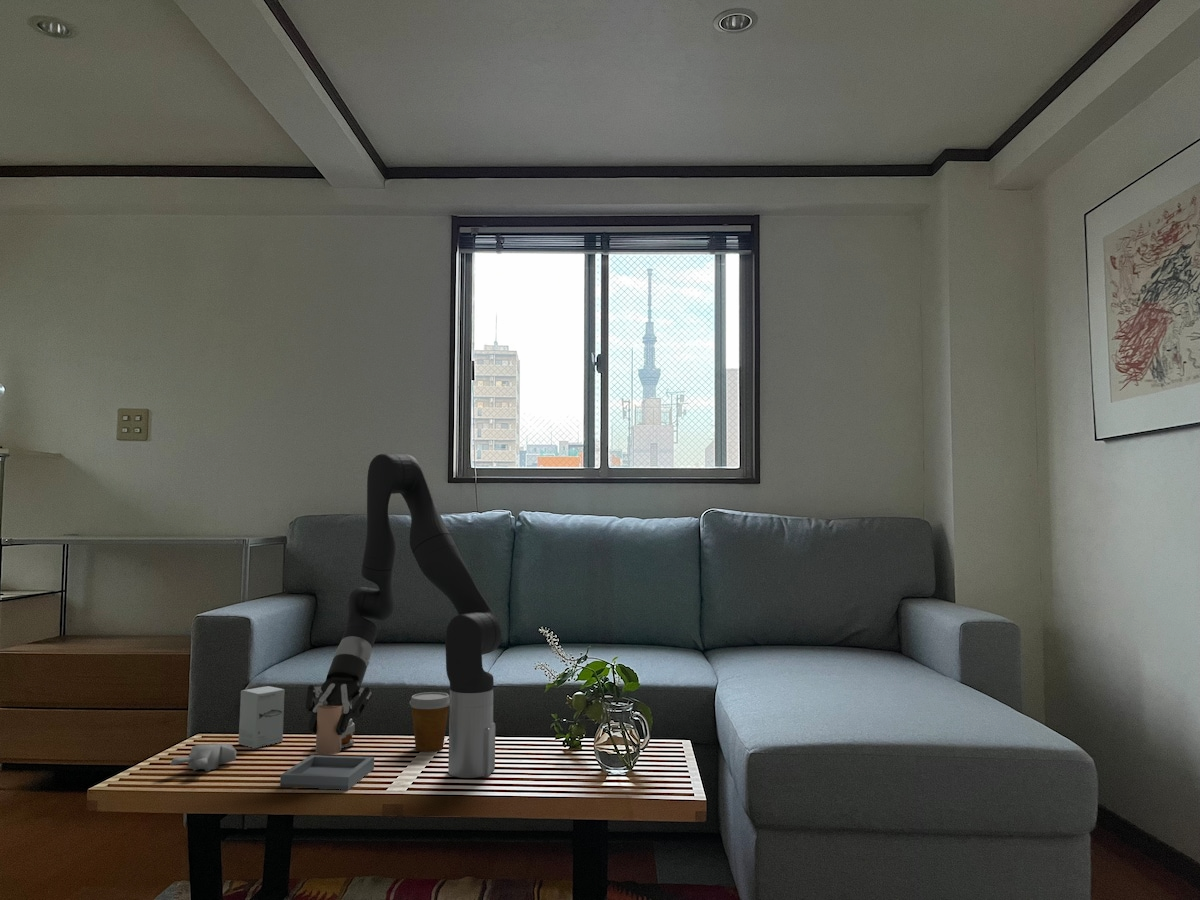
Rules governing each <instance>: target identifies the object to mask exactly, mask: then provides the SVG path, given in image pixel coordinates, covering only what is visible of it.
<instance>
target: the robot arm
mask: <svg viewBox="0 0 1200 900" xmlns="http://www.w3.org/2000/svg"><path fill="white" fill-rule="evenodd" d="M366 477H367V479H366V480H367V483H366V488H367V489H366V519H367V520H366V540H365V547H364V552H363V557H362V558H363V559H362V565H361V571H360V573H361V576H362V577H363V578H364V579H365V580H367V581H368V582H371V583H374V584H375V585H377V586H378V588H379V589H378V588H373V587H372V588H371V587H367V586H358V587H355V588H354V589H352V591H351V592H350V594H349V597H348V602H347V605H348V607H347V615H348V616H347V623H346V627H345V630H344V631H343V635H342V638H341V640H340V643H339V644H338V646H337V648H336V651H335V653H334V656H333V658H332V661H331V663H330V667H329V669H328V671H327V675H326V679H325V681H324V682H323V683H322V685H321V686H314V685H313V684H310V685H308V687H307V692H306V703H305V710H306V711H307V714H308V716H311V717H310V719H309V723H308V726H307V727H308V729H309V731H310V734H311V735H316V732H317V707H318V706H319V705H323V704H341V705H343V714H341V716H340V719H339V722H338V725H337V728H336V732H337V734H338V735H342V733H344V732H345V731H346V729H347V726H348V723H349V720H350V719H351V718H352V719H353V718H357V719H358V718H360V717H362V716H361V715H362V714H363V712H364V710H365V709H366V708H367V706H368V704H369V702H370V701H371V699H372V697H373V694H372V692H371V689H370V687H368V686H366V687H362V686H361V685H362V683H363V680H364V677H365V675H366V672H367V669H368V666H369V665H370V659H371V655H372V649H373V647H374V644H375V641H376V639H377V635H378V627H377V625H376V624H375V623H374V622H373V621H371V620H374V621H380V622H384V621H388V619H390V618H391V616H393V613H394V609H395V597H394V596H395V595H394V589H393V569H394V564H395V559H396V552H397V548H396V547H397V544H396V543H397V542H396V537H395V534H394V530H393V528H392V524H391V521H390V517H389V504H390V503H389V502H390V499H391V496H392V494H394V495H395V494H400V495H401V496H402V498H403V499H404V501H405V504H406V505H407V508H408V510H409V512H410V519H411V520H410V529H409V546H410V550H411V553H412V555H413V557H414V559H415V561H416V563H417V565H418V567H419V569H420V570H421V572H422V574H423V575H424V576H425V578H426V579H428V581H430V583H432V584H433V586H435V587H436V588H437V589H438V590H439V591H440V592H441V593H442V594H443V595H444V596H446V598H447V599H448V600H449V601H450V602H451V603H452V605H453V607H454V609H455V610H456V612H457V615H455V616H454V617H453V618H451V619H450V621H449V622H448V623H447V627H446V631H445V641H444V642H445V643H444V644H445V670H446V676H447V679H448V682H449V698H450V705H449V708H448V717H449V719H448V761H447V763H448V772H447V773H448V774H449V775H450V776H451V777H455V778H461V779H463V778H464V779H473V778H481V777H482V778H483V777H489V776H490V775H491V774H492V772H493V771H494V769H495V768H496V765H495V764H496V723H495V722H494V683H495V682H494V675H493V674H492V673H491V672H488V671H485V670H484V667H483V655H485V654H489V653H492V652H494V651H496V650H497V649H498V648H499V646H500V644H501V641H502V629H501V625H500V621H499V620H498V618H497V616H496V614H495V613H494V612H493V609H492V607H490V605H489V604H488V602H487V600H486V599H485V598H484V595H483V594H482V593H481V591H480V589H479V587H478V586H477V585H476V582H475V581H474V579H473V577H472V575H471V572H470V571H469V569H468V567H467V564H466V563H465V562H464V560H463V557H462V555H461V553H460V551H459V549H458V546H457V545H456V543H455V541H454V539H453V537H452V534H451V533H450V531H449V529H448V528H447V525H446V524H445V522H444V519H443V518H442V516H441V513H440V510H439V508H438V507H437V505H436V502H435V500H434V498H433V495H432V493H431V490H430V487H429V485H428V482H427V479H426V477H425V474H424V472H423V469H422V467H421V465H420V462H418V460H417V458H415V457H414V456H413V455H411V454H406V453H381V454H377V455H375V456H374V457H373V458H372V460H371V461H370V463H369V465H368V471H367V476H366ZM321 693H322V695H321V696H320V694H321ZM319 696H320V698H319ZM356 697H358V699H357V700H356V702H355V703H354V705H352V701H353V700H354V699H355V698H356ZM318 698H319V699H318ZM317 699H318V703H317ZM316 703H317V704H316Z"/></svg>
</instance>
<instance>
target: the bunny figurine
mask: <svg viewBox="0 0 1200 900" xmlns="http://www.w3.org/2000/svg"><path fill="white" fill-rule="evenodd" d="M236 759H237V750H236V748H235V747H234V746H233V744H230V743H210V744H203V743H201V744H196V745H194V746H192V747H191V750H190V752H189V755H188V756H183V757H182V756H181V757H174V758H172V760H171V762H170V763H169V766H173V765H174V766H175V765H176V766H177V765H180V764H185V763H187V764H188V766H189V767H188V768H189V769H191V770H192V771H193V772H197V771H196V770H198V771H199V770H204V771H205V772H206V771H208V772H211V771H212V770H217V769H218V768H219V766H222V765H223V764H228V763H231V762H235V761H236ZM217 767H218V768H217Z"/></svg>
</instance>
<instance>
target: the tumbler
mask: <svg viewBox="0 0 1200 900" xmlns="http://www.w3.org/2000/svg"><path fill="white" fill-rule="evenodd" d="M342 713H343V705H341V704H323V705H319V706H318V707H317V732H316V734H315V735H316V737H315V753H316V754H317V755H333V754H338V753H339V752H341V751H342V749H341V740H342V735H338V734H337V732H336V728H337V725H338V722H339V719H340V716H341V714H342Z"/></svg>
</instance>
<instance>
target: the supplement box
mask: <svg viewBox="0 0 1200 900" xmlns="http://www.w3.org/2000/svg"><path fill="white" fill-rule="evenodd" d="M284 710H285V689H284V688H281V687H276V686H269V685H267V686H261V687H254V688H247V689H242V690H240V705H239V724H238V725H239V727H238V745H241V746H245V747H247V746H248V748H250V747H252V748H251V749H254V748H256V749H259V748H262V746H263V747H266V745H267V746H270V744H272V745H275V743H277V744H280V743H279V742H282V743H283V737H284V735H283V734H284V714H285V713H284Z"/></svg>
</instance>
